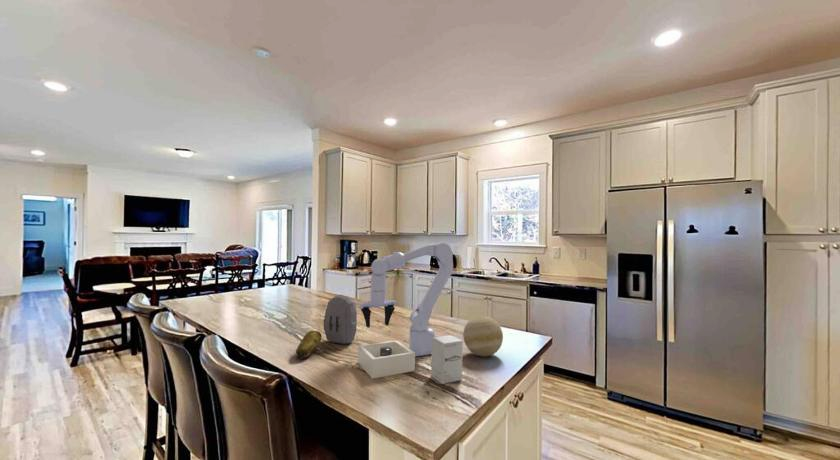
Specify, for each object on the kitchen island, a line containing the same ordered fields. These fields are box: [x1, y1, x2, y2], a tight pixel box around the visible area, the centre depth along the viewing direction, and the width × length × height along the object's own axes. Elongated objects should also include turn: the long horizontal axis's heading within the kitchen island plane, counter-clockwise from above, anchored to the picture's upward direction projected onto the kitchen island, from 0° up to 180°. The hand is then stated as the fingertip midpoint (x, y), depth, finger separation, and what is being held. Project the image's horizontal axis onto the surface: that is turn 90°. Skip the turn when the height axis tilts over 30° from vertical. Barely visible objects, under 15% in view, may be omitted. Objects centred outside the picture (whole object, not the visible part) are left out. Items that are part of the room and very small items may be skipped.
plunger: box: [375, 347, 394, 358], centre depth 117 cm, size 11×11×5 cm
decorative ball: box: [462, 315, 504, 358], centre depth 130 cm, size 15×15×15 cm
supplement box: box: [430, 334, 463, 385], centre depth 109 cm, size 7×7×13 cm
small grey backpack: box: [322, 294, 358, 345], centre depth 142 cm, size 15×8×20 cm, turn 66°
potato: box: [295, 330, 322, 360], centre depth 127 cm, size 8×13×8 cm, turn 154°
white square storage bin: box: [357, 340, 416, 379], centre depth 117 cm, size 15×15×6 cm
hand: (377, 325), depth 130 cm, fingers open, 7 cm apart
